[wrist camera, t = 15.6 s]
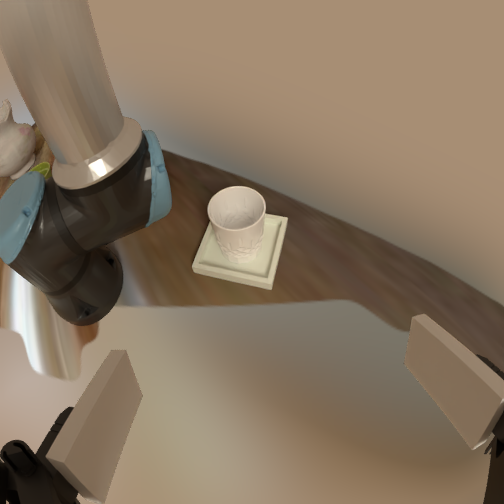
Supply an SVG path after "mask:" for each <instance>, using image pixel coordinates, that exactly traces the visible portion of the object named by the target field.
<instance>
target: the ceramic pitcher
mask: <svg viewBox="0 0 504 504" xmlns="http://www.w3.org/2000/svg"><path fill="white" fill-rule="evenodd" d="M35 146H36V136H35V132H34V130H33V129H32V127H31V126H30V125H29V124H26V123H24V124H17V123H16V122H14V120H13V116H12V108H11V105H10V102H9V101H8V100H7V99H6V100H4V101H3V106H2V108H0V177H8V176H10V178H11V179H12V180H16V179H18V178H19V177H21V176H22V175H24V174H25V173H26V172H27V171H28V169H29V168H30V167H31V166H32V165H33V164H34V161H35V154H34V153H33V152H34V150H35Z"/></svg>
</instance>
